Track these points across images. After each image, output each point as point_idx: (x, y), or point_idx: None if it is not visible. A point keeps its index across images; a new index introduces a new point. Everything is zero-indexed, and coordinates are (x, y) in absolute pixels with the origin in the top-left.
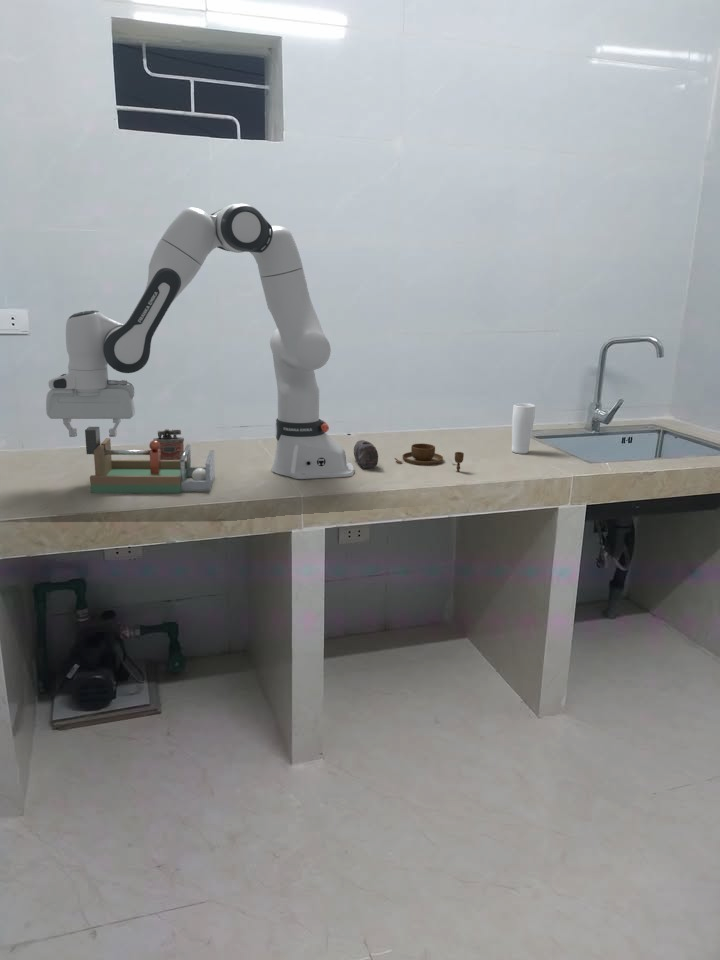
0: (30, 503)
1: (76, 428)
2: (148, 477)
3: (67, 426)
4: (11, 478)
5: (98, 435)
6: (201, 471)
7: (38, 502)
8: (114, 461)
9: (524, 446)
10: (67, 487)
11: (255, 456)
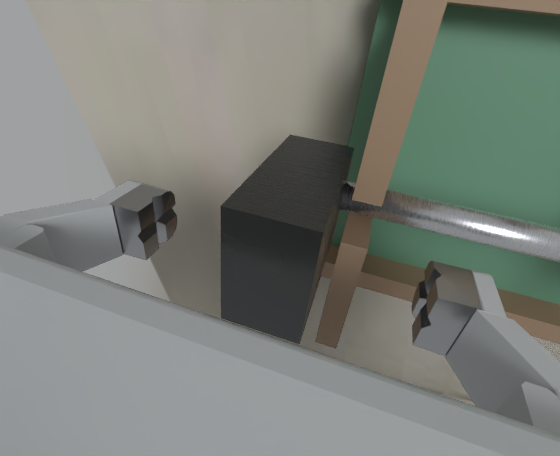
0: (195, 277)
1: (136, 213)
2: (548, 339)
3: (80, 264)
4: (36, 5)
5: (326, 240)
6: None
7: (210, 276)
8: (451, 2)
9: None
10: (248, 165)
11: None
